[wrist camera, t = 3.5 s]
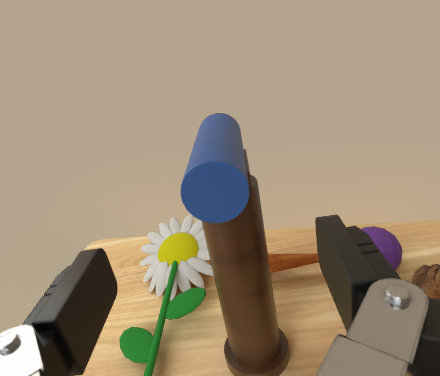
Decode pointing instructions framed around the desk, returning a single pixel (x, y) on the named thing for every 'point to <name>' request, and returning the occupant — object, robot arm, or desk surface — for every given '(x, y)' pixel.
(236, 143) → the tube
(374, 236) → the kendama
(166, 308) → the decorative flower
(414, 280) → the decorative rock
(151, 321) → the desk surface
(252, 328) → the post
